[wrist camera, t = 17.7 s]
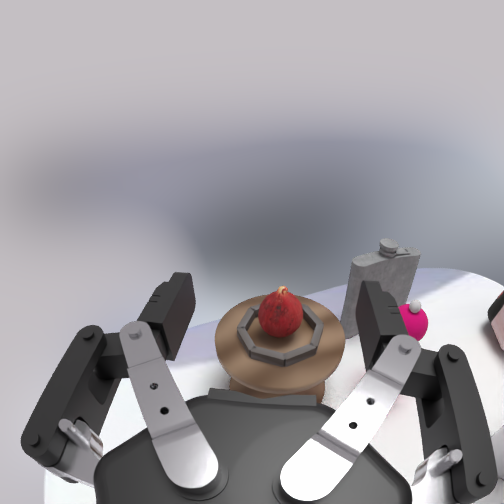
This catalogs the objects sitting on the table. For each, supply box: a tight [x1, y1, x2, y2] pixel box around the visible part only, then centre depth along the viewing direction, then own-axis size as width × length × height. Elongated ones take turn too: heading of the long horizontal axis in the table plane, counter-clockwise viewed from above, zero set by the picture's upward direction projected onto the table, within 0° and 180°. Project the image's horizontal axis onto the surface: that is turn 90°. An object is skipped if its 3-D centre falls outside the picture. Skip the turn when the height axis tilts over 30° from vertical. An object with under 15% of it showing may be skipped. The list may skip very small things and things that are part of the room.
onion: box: [258, 286, 303, 338], centre depth 37 cm, size 6×6×8 cm
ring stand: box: [215, 295, 345, 403], centre depth 42 cm, size 18×18×16 cm
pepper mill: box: [398, 300, 428, 341], centre depth 39 cm, size 7×7×20 cm
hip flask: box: [340, 239, 421, 339], centre depth 54 cm, size 16×4×20 cm, turn 103°
